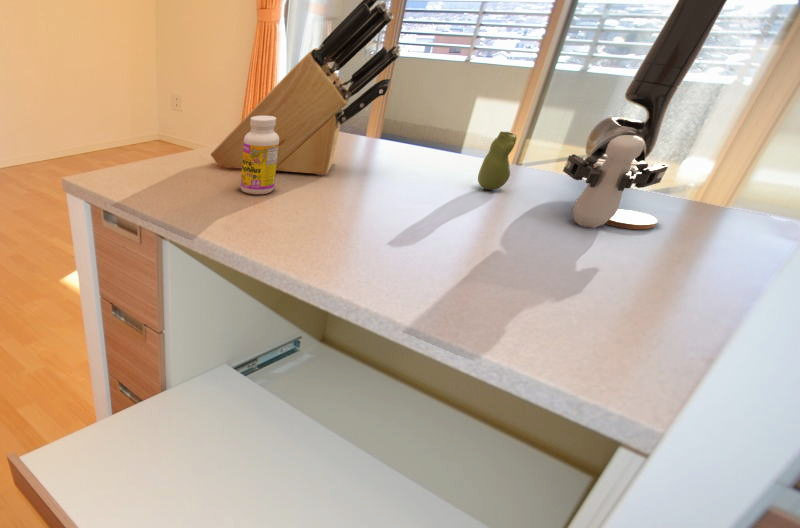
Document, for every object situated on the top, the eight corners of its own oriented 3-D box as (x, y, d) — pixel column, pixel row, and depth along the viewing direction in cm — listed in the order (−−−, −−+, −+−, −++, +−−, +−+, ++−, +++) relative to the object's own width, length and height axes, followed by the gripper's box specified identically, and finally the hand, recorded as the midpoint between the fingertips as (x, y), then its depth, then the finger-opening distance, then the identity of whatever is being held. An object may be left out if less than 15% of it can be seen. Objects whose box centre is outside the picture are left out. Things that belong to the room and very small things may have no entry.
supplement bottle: (233, 190, 108) (237, 117, 100) (256, 184, 111) (262, 113, 103) (257, 197, 103) (264, 122, 95) (280, 191, 107) (289, 117, 99)
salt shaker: (561, 224, 89) (598, 142, 79) (576, 208, 91) (613, 127, 81) (601, 234, 85) (644, 150, 76) (616, 217, 87) (660, 134, 78)
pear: (475, 184, 108) (493, 127, 101) (504, 186, 106) (525, 129, 99) (473, 191, 104) (491, 133, 98) (503, 194, 102) (525, 135, 96)
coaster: (654, 218, 89) (657, 214, 89) (654, 233, 84) (657, 227, 84) (597, 211, 93) (599, 206, 93) (594, 224, 88) (596, 219, 88)
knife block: (372, 180, 111) (414, -12, 92) (209, 168, 121) (215, -7, 102) (376, 167, 119) (414, -12, 100) (223, 157, 130) (231, -7, 110)
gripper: (578, 129, 92) (566, 149, 82) (681, 138, 86) (683, 160, 75) (558, 176, 97) (545, 200, 86) (654, 187, 90) (653, 215, 80)
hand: (609, 181), depth 81 cm, fingers closed on salt shaker, 3 cm apart
